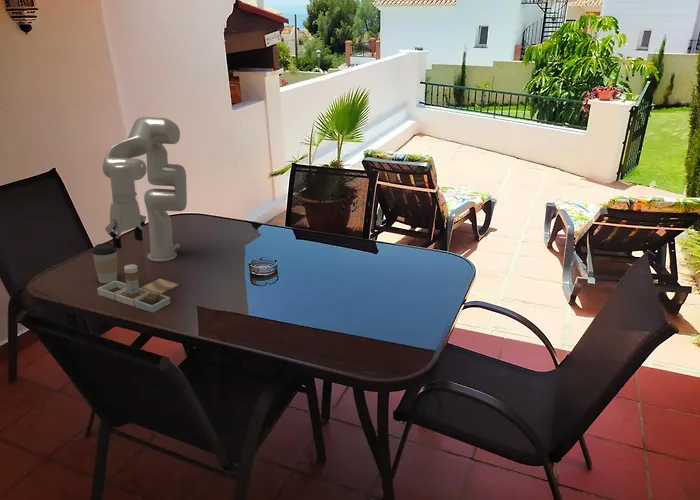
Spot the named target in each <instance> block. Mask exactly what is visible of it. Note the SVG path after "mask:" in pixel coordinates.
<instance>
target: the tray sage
mask: <svg viewBox="0 0 700 500" xmlns="http://www.w3.org/2000/svg"><path fill="white" fill-rule="evenodd" d="M116 288H117V289H120V290H116V291H115V292H112V290H113V289H116ZM96 289H97V295H98V296H101V297H103V298H104V297H105V298H108V299H110V300H113V301H115V300H116V294H117V293H120V292H122V291H124V290H126V289H127V288H126V282H122V281H118V280H116V281H113V282H111V283H105V284H104V285H102V286H99V287H97V288H96Z"/></svg>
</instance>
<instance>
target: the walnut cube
mask: <svg viewBox="0 0 700 500" xmlns="http://www.w3.org/2000/svg"><path fill="white" fill-rule="evenodd" d="M144 302H145V303H146V304H149V305H154V304H156V303H158V302H160V294H154V293H149V294H148V295H147V296H145V297H144Z"/></svg>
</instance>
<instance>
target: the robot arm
mask: <svg viewBox="0 0 700 500" xmlns="http://www.w3.org/2000/svg"><path fill="white" fill-rule="evenodd" d="M180 139H181V132H180V128H179V126H178V124H176V123H175V122H174V121H173V120H170V119H168V118H167V117H166V118H165V117H153V116H152V117H151V116H141V117H138V118H136V119H135V121H134V123H133V125H132V127H131V130H130V132H129V135H128V137H127V138H126V139H123V140H121V141H119V142H118V143H116V144H114V145H113V146H111V147H110V148H109V149H108V151H107V153H106V155H105V157H104V159H103V163H102V173H103V174H104V176H105V177H107V178H108V179H110V187H111V188H110V189H111V197H112V203H110V207H109V208H110V209H109V224H108V225H107V226H106V227H105V228H104V229H105V231H106V233H107V235H108V236H109V237H110V238H112V244H113V246H114V247H115V248H117V250H118V249H119V250H120V249H122V238H121V237H120V236H121V235H122V234H121V233H123V232H126V231H130V230H133V229H134V239H135V240H136V241H140V242H143V239H144V238H143V230H144V226H145V225H146V220H147V223H148V234H149V244H150V245H149V246H150V248H149V249H150V252H148V253H147V255H146V256H147V259H148V260H150V261H152V262H160V263H161V262H169V261H172V260H174V259H175V258H177V257H178V253H177V251H176V249H179V248H181V244H180V243H176V244H173V230H172V219H171V216H170V215H169V214H168V212H183V211H185V210H186V208H187V203H188V202H187V200H188V197H187V196H188V195H187V193H188V192H187V187H188V186H187V172H186V169H185V167H184V166H183V165H181V164H177V163H176V164H174V163H169V161H168V159H169V158H168V157H169V156H168V150H167V149H166V147H165V146H164V145H176V144H178V143H179V141H180ZM143 155H146V163H145V161H144V160H142V159H140V158H139V157H140V156H143ZM146 175H147V181H148V183H149V184H150V185H152V186H159V187H160V186H161V187H163V186H164V187H173V188H174V189H172V188H171V189H170V188H169V189H168V188H149V189H147V190H146V192H144V197H143V200H144V205H145V209H146V213H147V216H145V215H142V214H141V211H140V207H139V203H138V199H137V197H136V196H137V192H136V188H135V187H136V186H135V181H139V180H141V179H143V178H144V177H145V176H146Z"/></svg>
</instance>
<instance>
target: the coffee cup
mask: <svg viewBox="0 0 700 500" xmlns="http://www.w3.org/2000/svg"><path fill="white" fill-rule="evenodd" d="M91 249H92V250H91V251H92V252H91V253H92V255H93V262H94V268H95V272H96V274H97V279H98V282H99V283H102V284H109V283H111V282H113V281H118V255H117V254H118V253H117V252H118V248H115V247H114V245H113V242H109V241H108V242H103V243H98V244H96V245H95V246H93V248H91Z"/></svg>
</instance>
